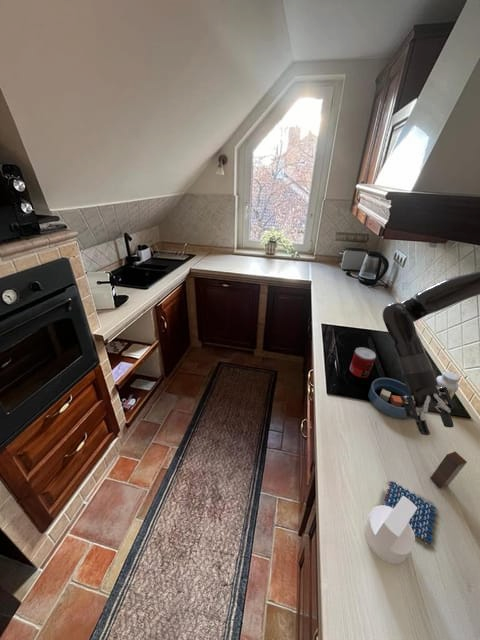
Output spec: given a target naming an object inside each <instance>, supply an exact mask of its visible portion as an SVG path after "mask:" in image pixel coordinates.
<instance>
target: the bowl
mask: <svg viewBox="0 0 480 640" xmlns="http://www.w3.org/2000/svg"><path fill="white" fill-rule="evenodd" d="M382 389H384V390H386V391H389V392H393V393H395V394H397V395H398V396H400V397H402V396H410V395H411V393H410V390H409V389H407V388H406V385H405V382H404V383H403V382H402V381H399V380H398V379H394V378H390V377H378V378H376V379H374V380H373V381H372V382H371V384H370V387H369V389H368V394H367V396H368V397H367V398H368V399H369V401H370V403H371V404H372V406H374V407H375V408H376V409H377V410H378V411H380V412H382V413H383V414H385V415H388V416H389V417H393V418H397V419H408V418H407V416H406V412H405V409H404V407H402V406H401V407H397V406H394V405H391V403H389V402H387V401H384V400H382V399H381V398H380V397H379V396H380V395H378V394H377V392H376V391H378V390H382ZM410 412H411V410H410ZM411 414H412V412H411Z"/></svg>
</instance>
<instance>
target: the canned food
mask: <svg viewBox="0 0 480 640" xmlns="http://www.w3.org/2000/svg"><path fill="white" fill-rule="evenodd" d="M376 358H377V355H376V353H375V352H374V350H372V349H370V348H368V347H362V346H361V347H356V348H355V350H354V352H353V356H352V359H351V362H350V365H349V372H350V373H351V374H352V375H354V376H356V377H357V378H361V379H365V378H368V377H369V376H370V374H371V371H372V368H373V365H374V363H375V360H376Z"/></svg>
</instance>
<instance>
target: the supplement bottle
mask: <svg viewBox="0 0 480 640" xmlns="http://www.w3.org/2000/svg"><path fill="white" fill-rule="evenodd" d="M436 380H437V382H438V385H437V386H436V387H446V388H447V390H448V392H449V395H450V397H451V399H452V400H453V397H454V396H455V394H456V392H457V391H458V389H459V387H460V386H459V383H458V382H459V380H460V376H459V375H458V374H457V373H455V372H452V371H449V370H445V371H443V372H442V374H441V375H438V376H437V377H436ZM445 401H446V404H448V402H447V400H445Z"/></svg>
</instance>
